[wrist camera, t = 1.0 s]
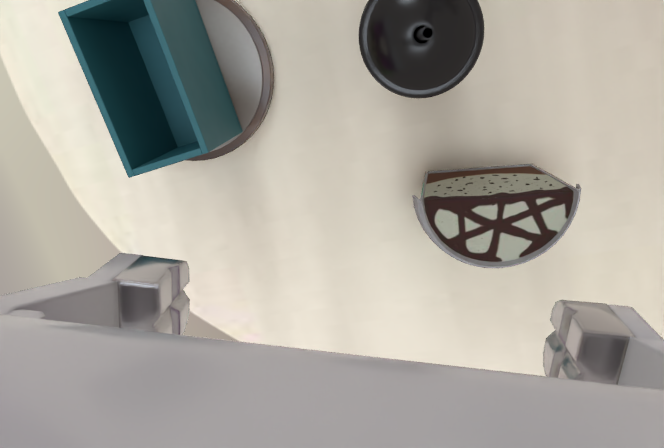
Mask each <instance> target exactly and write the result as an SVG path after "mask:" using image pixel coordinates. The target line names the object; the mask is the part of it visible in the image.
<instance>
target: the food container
mask: <svg viewBox="0 0 664 448" xmlns="http://www.w3.org/2000/svg"><path fill="white" fill-rule="evenodd" d="M580 193H581V188H580V185H579V184H576V188H575V187H573V186H571V185H569V184H568V183H566V182H564V181H562V180H560V179H559V178H557V177H555V176H553V175H551V174H550V173H548V172H546V171H544V170H542V169H541V168H539V167H537V166H535V165H533V164H524V165H511V166H497V167H484V168H470V169H457V170H443V171H430V172H425V177H424V182H423V188H422V193H421V198H420V199H418V198H417V197H416V196H415V195H412V196H413V203H414V208H415V211H416V214H417V218H418V220H419V222H420V224H421V226H422V228H423V229H424V231H425V232H426V234H427V235H428V236H429V238H430V239H431V240H432V241H433V242H434V243H435V244H436V245H437V246H438V247H439V248H441V249H442V250H443V251H444V252H446V253H447V254H449V255H450V256H451V257H453V258H455V259H457V260H459V261H461V262H463V263H466V264H470V265H473V266H478V267H484V268H503V267H511V266H515V265H519V264H522V263H525V262H528V261H530V260H532V259H535V258H536V257H538V256H540V255H541V254H543V253H545V252H546V251H547V250H549V249H550V248H551V247H552V246H553V245H555V244H556V243H557V242H558V240H559V239H560V238H561V237H562V236H563V235H564V233H565V232H566V230H567V229H568V227H569V226H570V224H571V222H572V220H573V218H574V216H575V214H576V211H577V208H578V204H579V201H580Z"/></svg>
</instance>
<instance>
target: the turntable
mask: <svg viewBox="0 0 664 448" xmlns="http://www.w3.org/2000/svg"><path fill="white" fill-rule="evenodd" d="M195 1H196V4H197V6H198V9H199V12H200V15H201V17H202V20H203V23H204V26H205V28H206V31H207V34H208V37H209V39H210V42H211V45H212V48H213V51H214V53H215V56H216V59H217V62H218V64H219V67H220V70H221V73H222V75H223V78H224V81H225V84H226V86H227V89H228V92H229V95H230V97H231V100H232V103H233V106H234V108H235V111H236V114H237V117H238V120H239V122H240V125H241V128H242V131H243V132H242V133H240V134H239V135H237V136H235V137H234V138H232V139H230V140H229V141H227V142H225V143H224V144H222V145H220V146H218V147H217V148H215V149H213V150H212V151H210V152H208V153H205V154H202V155H199V156H196V157H193V158H190V159H187V160H191V161H199V160H208V159H213V158H217V157H219V156H222V155H225V154H227V153H229V152H231V151H233V150H234V149H236V148H237V147H239V146H240V145H242V144H243V143H245V142H246V141H247V140H248V139H249V138H250V137H251V136H252V135H253V134H254V133H255V131H256V130H257V129H258V128H259V126H260V125H261V123H262V121H263V120H264V118H265V116H266V113H267V111H268V109H269V105H270V102H271V99H272V93H273V83H274V73H273V64H272V59H271V55H270V51H269V48H268V45H267V43H266V40H265V38H264V36H263V34H262V32H261V30H260V29H259V27H258V26H257V24H256V23H255V21H254V20H253V19H252V18H251V16H250V15H249V14H248V13H247V12H246V11H245V10H244V9H243V8H242V7H241V6H240V5H238V4H237V3H236V2H235V1H233V0H195Z"/></svg>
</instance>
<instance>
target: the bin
mask: <svg viewBox="0 0 664 448" xmlns="http://www.w3.org/2000/svg"><path fill="white" fill-rule="evenodd" d="M58 13H59V16H60V18H61V20H62V23H63V25H64V28H65V30H66V32H67V35H68V37H69V39H70V42H71V44H72V46H73V49H74V51H75V53H76V56H77V58H78V60H79V63H80V65H81V67H82V70H83V72H84V74H85V77H86V79H87V81H88V84H89V86H90V88H91V91H92V93H93V95H94V98H95V100H96V102H97V105H98V107H99V109H100V112H101V114H102V116H103V119H104V121H105V123H106V126H107V128H108V130H109V133H110V135H111V137H112V140H113V142H114V144H115V147H116V149H117V152H118V154H119V156H120V159H121V161H122V163H123V166H124V168H125V170H126V173H127V175H128V177H129V178H130V177H133V176H136V175H139V174H142V173H146V172H149V171H152V170H155V169H158V168H161V167H164V166H168V165H171V164H174V163H177V162H180V161H183V160H187V159H190V158H193V157H196V156H199V155H202V154H205V153H208V152H210V151H212V150H213V149H215V148H217V147H218V146H220V145H222V144H224V143H225V142H227V141H229V140H230V139H232V138H234V137H235V136H237V135H239V134H240V133H242V132H243V131H242V128H241V125H240V122H239V120H238V117H237V114H236V111H235V108H234V106H233V103H232V100H231V97H230V95H229V92H228V89H227V86H226V84H225V81H224V78H223V75H222V73H221V70H220V67H219V64H218V62H217V59H216V56H215V53H214V51H213V48H212V45H211V42H210V39H209V37H208V34H207V31H206V28H205V26H204V23H203V20H202V17H201V15H200V12H199V9H198V6H197V4H196V1H195V0H88V1H86V2H83V3H81V4H78V5H75V6H73V7H70V8H68V9H65V10H62V11H60V12H58Z"/></svg>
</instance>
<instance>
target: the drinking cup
mask: <svg viewBox="0 0 664 448" xmlns="http://www.w3.org/2000/svg"><path fill="white" fill-rule="evenodd" d="M483 39H484V20H483V14H482V11H481V8H480V5H479V3H478V1H477V0H369V1H368V2H367V4H366V6H365V9H364V11H363V14H362V17H361V21H360V27H359V45H360V51H361V55H362V58H363V61H364V63H365V65H366V67H367V69H368V70H369V72H370V73H371V75H372V76H373V77H374V78H375V80H376V81H377V82H378V83H380V84H381V85H382V86H383V87H385V88H386V89H388V90H389V91H391V92H393V93H395V94H398V95H401V96H404V97H409V98H428V97H433V96H436V95H439V94H442V93H444V92H446V91H448V90H450V89H452V88H453V87H455V86H456V85H457V84H459V83H460V82H461V81H462V80H463V79H464V78H465V77H466V76H467V75H468V74H469V72H470V71H471V70H472V68H473V67H474V65H475V63H476V61H477V59H478V57H479V55H480V52H481V49H482V45H483Z"/></svg>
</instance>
